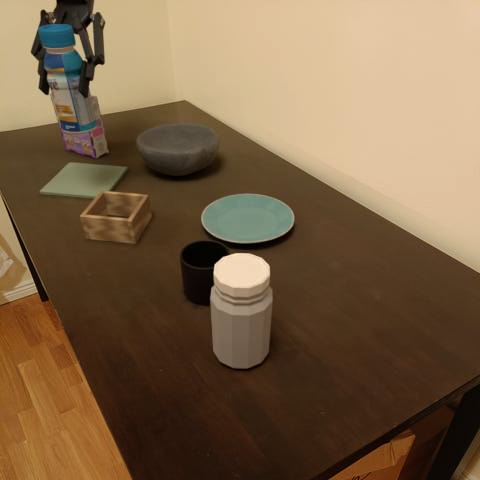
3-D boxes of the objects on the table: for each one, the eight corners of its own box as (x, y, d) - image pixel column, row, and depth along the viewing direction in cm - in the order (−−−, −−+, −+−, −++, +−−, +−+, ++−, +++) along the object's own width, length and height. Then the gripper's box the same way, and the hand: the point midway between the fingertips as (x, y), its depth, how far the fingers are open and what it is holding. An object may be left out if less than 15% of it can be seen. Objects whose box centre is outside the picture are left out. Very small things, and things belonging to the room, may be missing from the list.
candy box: (110, 152, 133) (98, 95, 121) (96, 159, 129) (82, 101, 118) (79, 143, 138) (64, 87, 127) (64, 149, 135) (48, 92, 123)
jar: (223, 326, 79) (220, 244, 66) (274, 337, 77) (282, 255, 64) (205, 365, 72) (198, 283, 60) (260, 378, 70) (266, 296, 58)
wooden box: (86, 239, 99) (79, 216, 95) (106, 212, 108) (100, 190, 103) (135, 244, 98) (131, 221, 94) (152, 216, 106) (148, 194, 102)
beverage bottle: (99, 133, 98) (76, 30, 84) (61, 137, 97) (31, 32, 83) (97, 120, 104) (76, 21, 90) (61, 123, 102) (33, 23, 88)
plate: (186, 241, 99) (185, 230, 97) (222, 196, 114) (221, 186, 112) (278, 261, 93) (279, 250, 91) (303, 212, 108) (304, 201, 106)
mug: (218, 264, 92) (216, 228, 86) (237, 299, 84) (237, 262, 78) (175, 274, 90) (170, 237, 84) (191, 310, 82) (187, 273, 76)
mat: (40, 194, 114) (39, 191, 114) (70, 164, 127) (69, 162, 126) (104, 199, 112) (103, 197, 112) (128, 169, 125) (127, 166, 124)
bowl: (208, 148, 135) (206, 115, 128) (229, 180, 120) (229, 144, 113) (135, 158, 130) (129, 124, 123) (147, 192, 115) (142, 156, 108)
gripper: (130, 3, 94) (116, 105, 94) (41, 0, 97) (28, 99, 97) (116, -25, 87) (102, 86, 87) (20, -28, 89) (6, 80, 89)
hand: (63, 93), depth 92 cm, fingers closed on beverage bottle, 8 cm apart
